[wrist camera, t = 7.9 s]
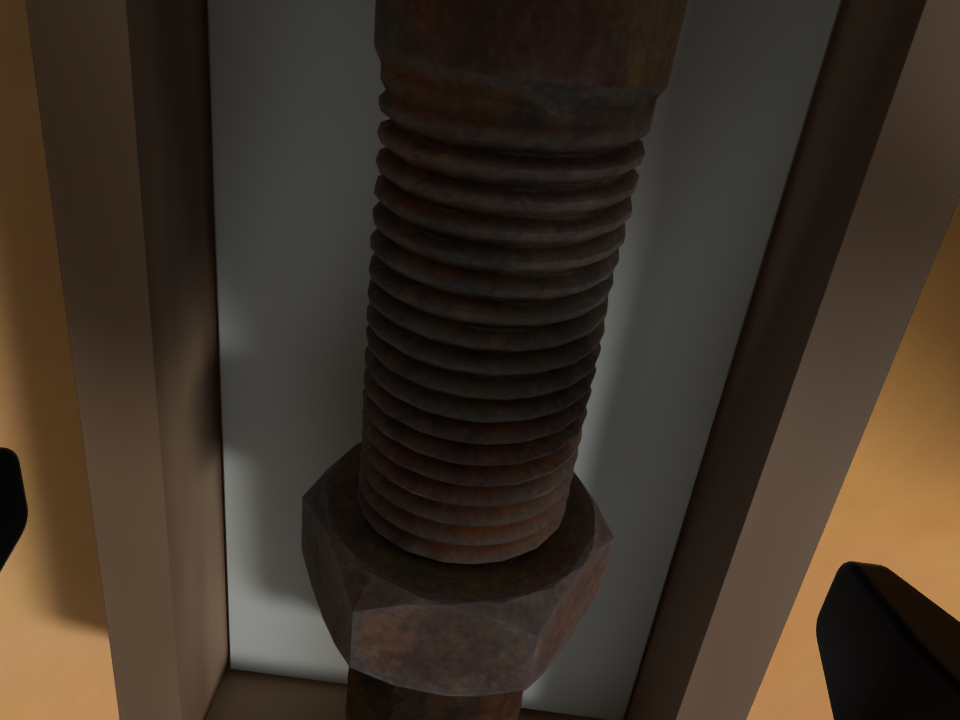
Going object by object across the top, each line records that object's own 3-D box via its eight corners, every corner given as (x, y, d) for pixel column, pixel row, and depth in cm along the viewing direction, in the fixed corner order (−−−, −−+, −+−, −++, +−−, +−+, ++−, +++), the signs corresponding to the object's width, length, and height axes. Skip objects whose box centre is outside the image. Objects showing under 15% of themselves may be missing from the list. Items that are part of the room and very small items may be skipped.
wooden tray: (1024, -373, 10) (1262, -542, 7) (659, 721, 19) (684, 870, 16) (124, -499, 10) (-71, -727, 7) (196, 659, 19) (129, 795, 16)
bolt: (417, 574, 18) (504, -222, 11) (613, 691, 16) (890, -211, 8) (215, 761, 13) (130, -389, 6) (450, 960, 11) (740, -452, 4)
